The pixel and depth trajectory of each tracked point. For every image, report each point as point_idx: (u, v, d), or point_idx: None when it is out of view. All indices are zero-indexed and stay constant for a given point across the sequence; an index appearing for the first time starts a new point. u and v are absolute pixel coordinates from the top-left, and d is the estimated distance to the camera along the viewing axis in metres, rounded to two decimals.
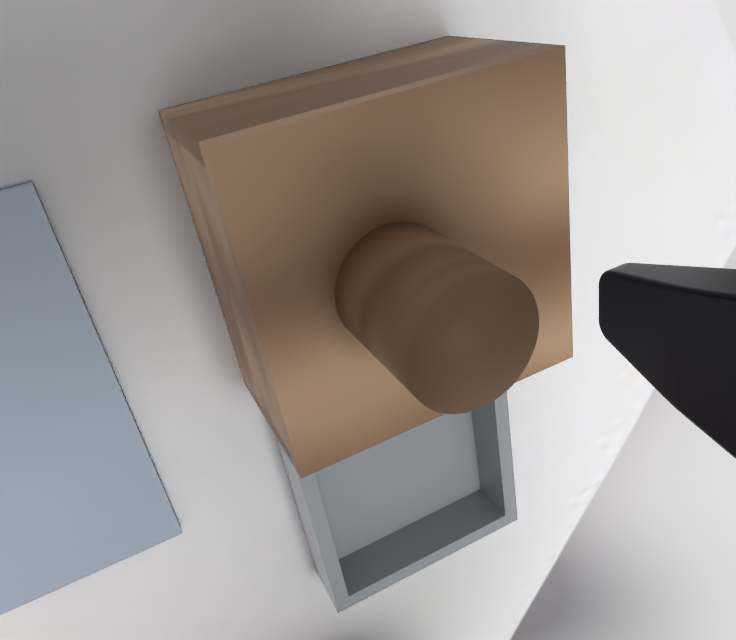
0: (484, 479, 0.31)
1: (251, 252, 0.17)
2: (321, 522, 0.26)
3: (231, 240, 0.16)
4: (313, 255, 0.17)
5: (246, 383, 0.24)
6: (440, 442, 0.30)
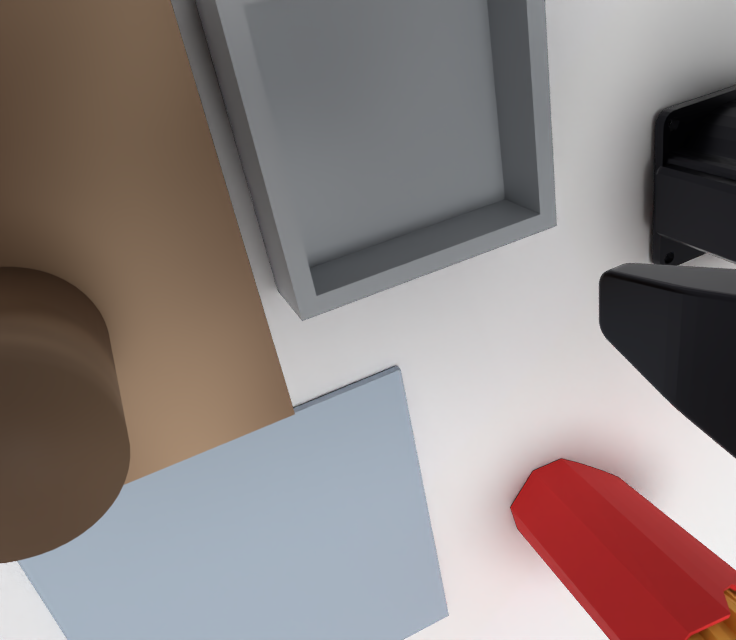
0: None
1: None
2: (418, 266, 0.21)
3: None
4: None
5: None
6: (376, 37, 0.19)
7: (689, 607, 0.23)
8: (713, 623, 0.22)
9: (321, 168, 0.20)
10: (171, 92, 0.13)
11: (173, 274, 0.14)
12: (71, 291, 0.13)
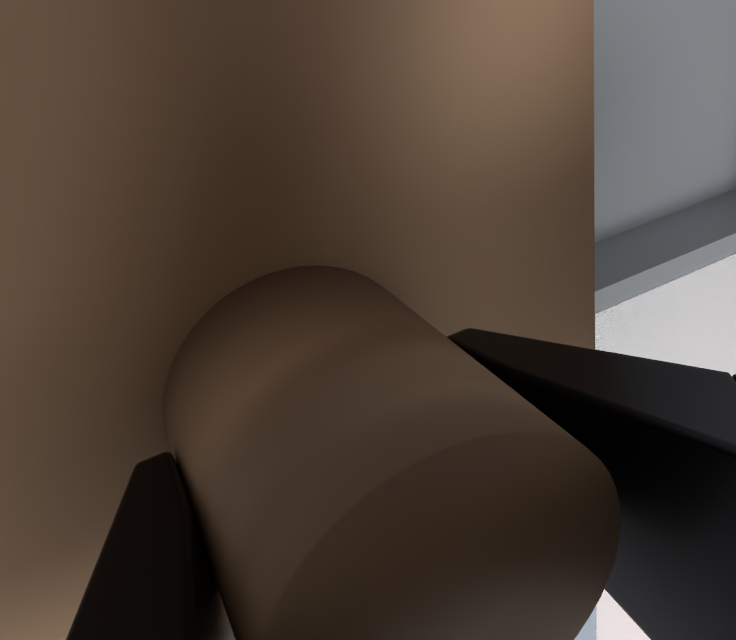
0: None
1: None
2: (671, 268, 0.17)
3: None
4: None
5: None
6: None
7: None
8: None
9: None
10: (563, 6, 0.09)
11: (508, 278, 0.10)
12: None
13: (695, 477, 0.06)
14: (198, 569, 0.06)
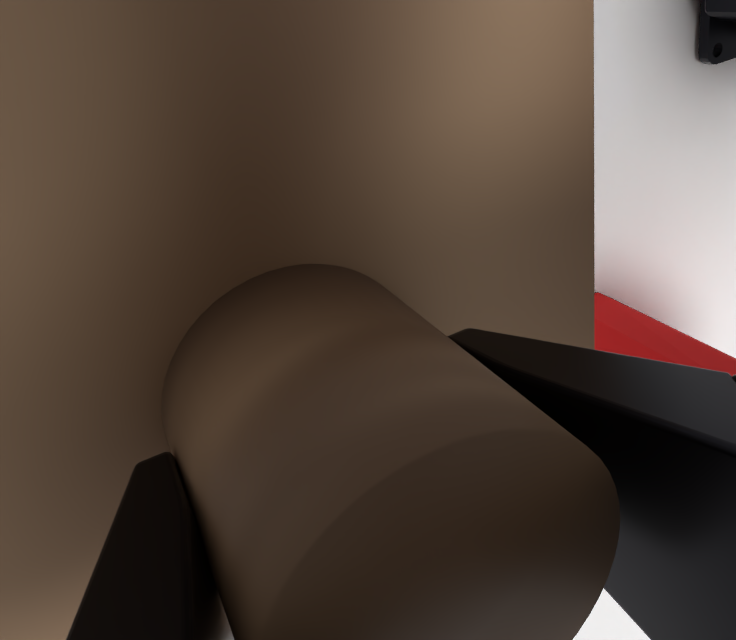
0: None
1: None
2: None
3: None
4: None
5: None
6: None
7: None
8: None
9: None
10: (563, 4, 0.09)
11: (507, 276, 0.10)
12: (401, 301, 0.09)
13: (695, 477, 0.06)
14: (198, 569, 0.06)
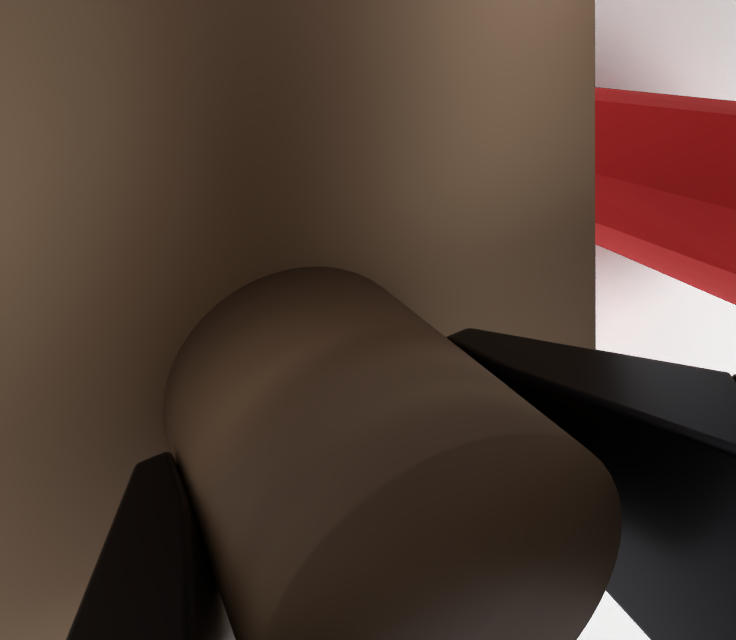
0: None
1: None
2: None
3: None
4: None
5: None
6: None
7: None
8: None
9: None
10: (564, 7, 0.09)
11: (509, 279, 0.10)
12: None
13: (695, 477, 0.06)
14: (198, 569, 0.06)
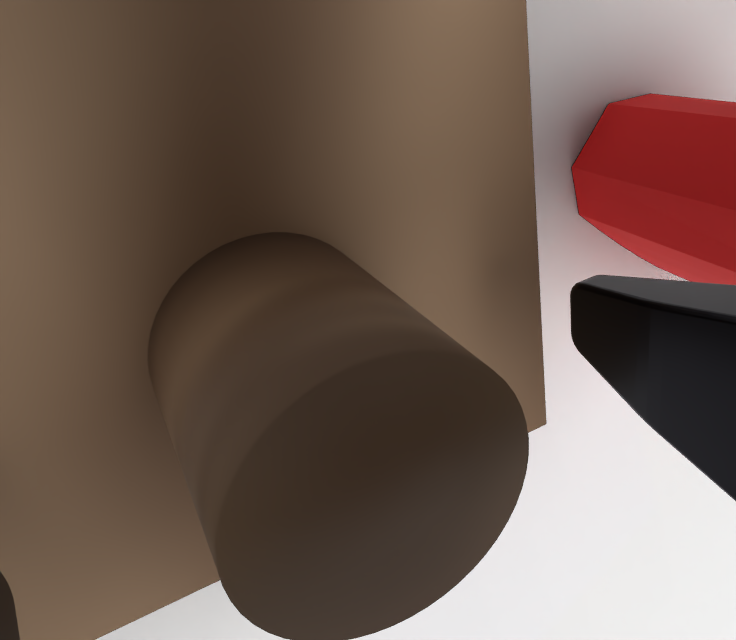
0: None
1: (196, 573, 0.11)
2: None
3: (177, 596, 0.12)
4: None
5: None
6: None
7: None
8: None
9: None
10: (498, 6, 0.10)
11: (457, 247, 0.11)
12: None
13: None
14: None
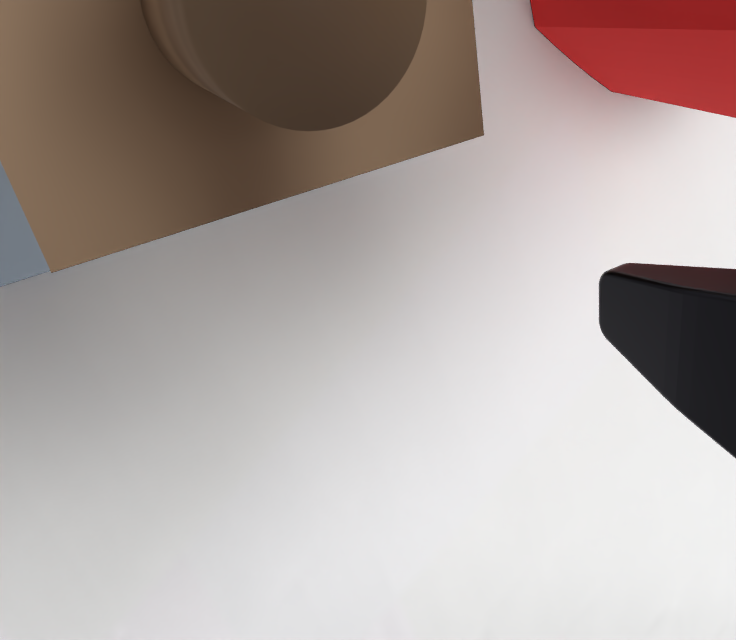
0: None
1: (181, 212, 0.14)
2: None
3: (166, 234, 0.14)
4: (188, 130, 0.13)
5: None
6: None
7: None
8: None
9: None
10: None
11: None
12: None
13: None
14: None
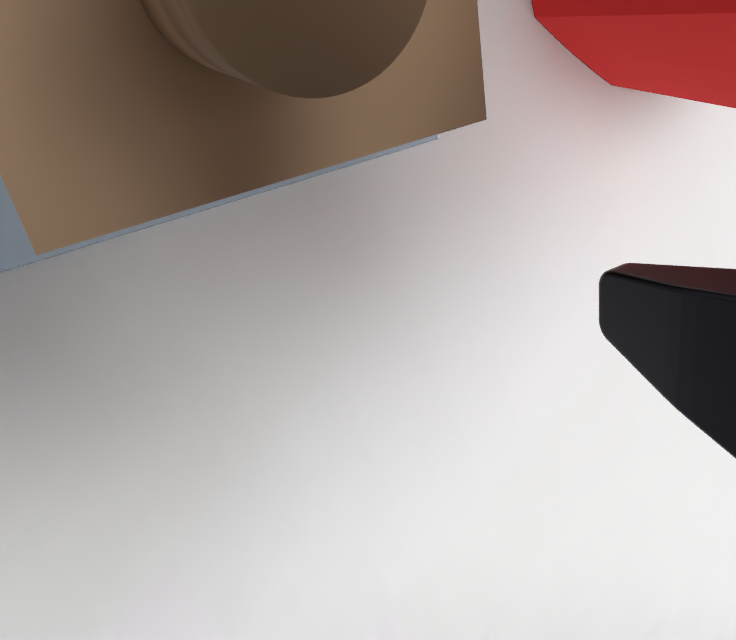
0: None
1: (173, 193, 0.13)
2: None
3: (158, 216, 0.13)
4: (181, 107, 0.13)
5: None
6: None
7: None
8: None
9: None
10: None
11: None
12: None
13: None
14: None
